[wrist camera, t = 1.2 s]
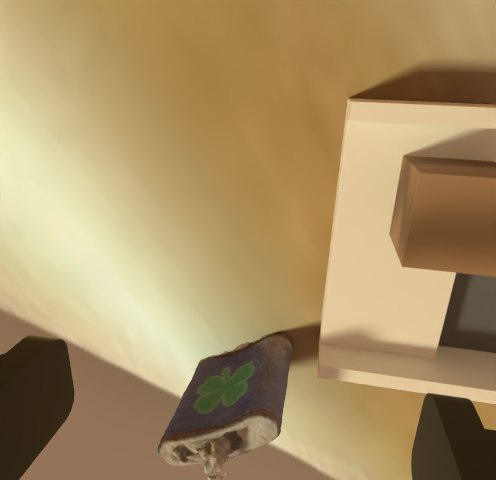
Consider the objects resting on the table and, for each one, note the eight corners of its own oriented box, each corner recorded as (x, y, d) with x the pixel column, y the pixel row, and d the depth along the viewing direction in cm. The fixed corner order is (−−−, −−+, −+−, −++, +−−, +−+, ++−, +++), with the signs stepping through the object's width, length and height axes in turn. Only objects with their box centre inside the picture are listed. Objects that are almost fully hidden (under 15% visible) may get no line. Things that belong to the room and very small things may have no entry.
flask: (284, 327, 32) (264, 435, 22) (301, 355, 33) (289, 473, 23) (190, 361, 35) (137, 470, 25) (207, 387, 36) (162, 502, 26)
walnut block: (403, 155, 24) (420, 173, 19) (493, 161, 23) (534, 181, 19) (389, 234, 26) (402, 266, 21) (473, 241, 25) (505, 277, 20)
